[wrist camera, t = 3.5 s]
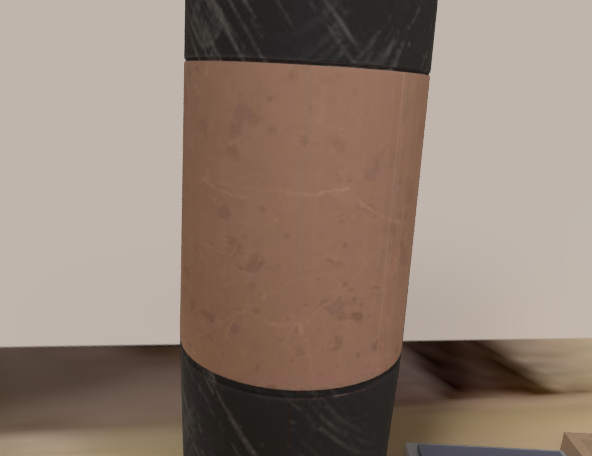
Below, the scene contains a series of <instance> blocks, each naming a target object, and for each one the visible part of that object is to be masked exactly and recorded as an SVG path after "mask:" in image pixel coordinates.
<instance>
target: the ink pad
mask: <svg viewBox="0 0 592 456" xmlns="http://www.w3.org/2000/svg"><path fill="white" fill-rule="evenodd" d="M404 456H566V454H565V453H564V451H557V450H539V449H520V448H502V447H483V446H465V445H446V444H428V443H409V442H405V450H404Z"/></svg>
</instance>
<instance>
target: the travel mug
mask: <svg viewBox="0 0 592 456" xmlns="http://www.w3.org/2000/svg"><path fill="white" fill-rule="evenodd" d="M437 1H438V0H185V54H184V56H185V59H186V61H185V63H184V118H183V120H184V122H183V181H182V182H183V184H182V246H181V249H182V250H181V309H180V310H181V311H180V312H181V313H180V339H181V341H180V354H181V388H182V422H183V456H386V452H387V445H388V439H389V432H390V425H391V419H392V412H393V405H394V399H395V392H396V385H397V378H398V372H399V365H400V353H401V350H402V342H403V332H404V322H405V311H406V303H407V293H408V284H409V273H410V264H411V254H412V245H413V235H414V225H415V216H416V206H417V196H418V187H419V177H420V167H421V157H422V147H423V138H424V128H425V119H426V109H427V99H428V89H429V80H430V77H429V76H428V75H429V73H430V70H431V61H432V51H433V41H434V32H435V21H436V12H437Z"/></svg>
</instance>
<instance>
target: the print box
mask: <svg viewBox="0 0 592 456" xmlns="http://www.w3.org/2000/svg"><path fill="white" fill-rule="evenodd" d="M560 451H564V453H565V454H566V456H592V434H587V433H568V432H564V435H563V440H562V445H561V450H560Z"/></svg>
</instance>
